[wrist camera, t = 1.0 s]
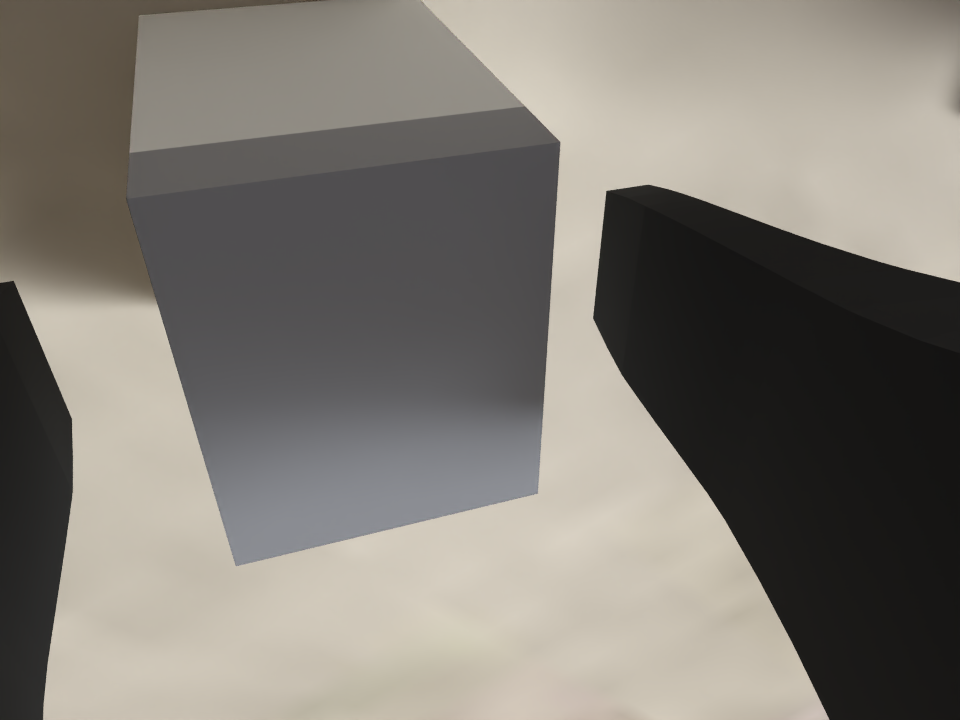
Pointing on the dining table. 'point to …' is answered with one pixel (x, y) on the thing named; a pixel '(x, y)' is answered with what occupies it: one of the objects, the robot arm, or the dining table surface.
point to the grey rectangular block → (344, 263)
